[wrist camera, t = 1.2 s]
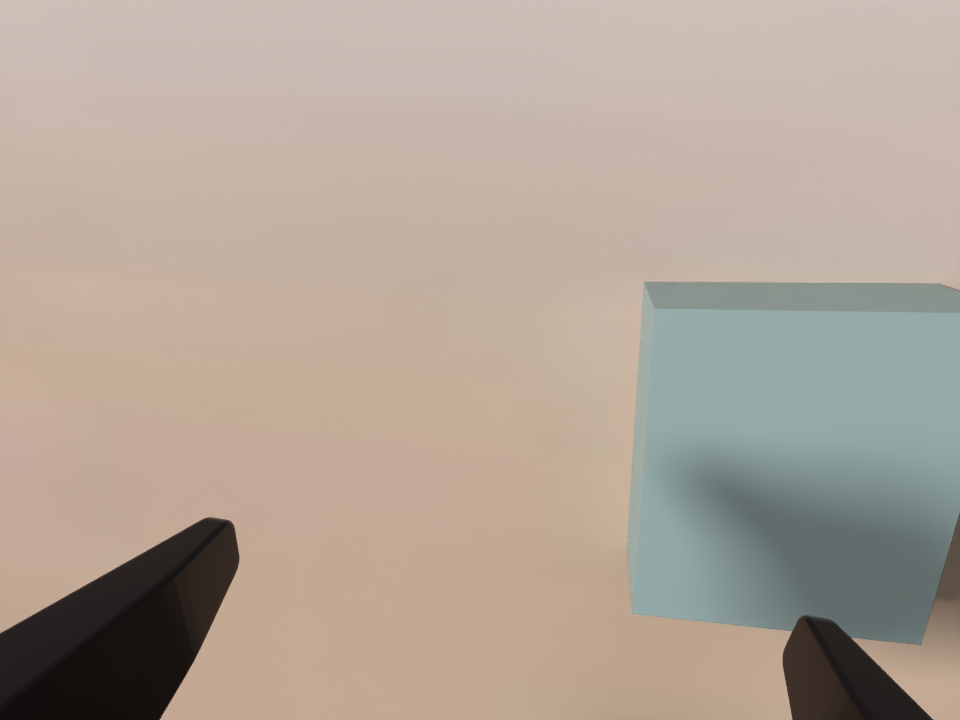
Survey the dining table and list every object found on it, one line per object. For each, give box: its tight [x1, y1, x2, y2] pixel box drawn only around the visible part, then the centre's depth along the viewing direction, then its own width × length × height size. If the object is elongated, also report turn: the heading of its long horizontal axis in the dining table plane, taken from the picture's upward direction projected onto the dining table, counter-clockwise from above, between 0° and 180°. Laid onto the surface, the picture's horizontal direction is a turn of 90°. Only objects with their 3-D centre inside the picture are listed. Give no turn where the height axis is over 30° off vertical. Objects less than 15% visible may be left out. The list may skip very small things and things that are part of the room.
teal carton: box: [627, 282, 960, 645], centre depth 19 cm, size 11×9×4 cm
